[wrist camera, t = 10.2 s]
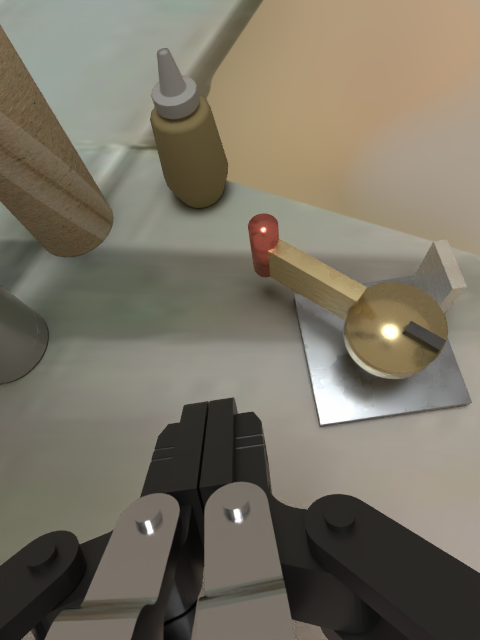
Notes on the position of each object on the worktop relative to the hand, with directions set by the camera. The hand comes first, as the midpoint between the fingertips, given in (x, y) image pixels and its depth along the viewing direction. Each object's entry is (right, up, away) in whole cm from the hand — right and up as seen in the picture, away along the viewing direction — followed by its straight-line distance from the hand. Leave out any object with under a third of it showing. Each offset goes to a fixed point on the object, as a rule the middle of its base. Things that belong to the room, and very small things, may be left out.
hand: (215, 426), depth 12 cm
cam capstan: (+10, +4, +26) cm, 28 cm away
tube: (-21, +16, +41) cm, 48 cm away
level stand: (+15, 0, +29) cm, 33 cm away
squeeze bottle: (-4, +20, +41) cm, 46 cm away
